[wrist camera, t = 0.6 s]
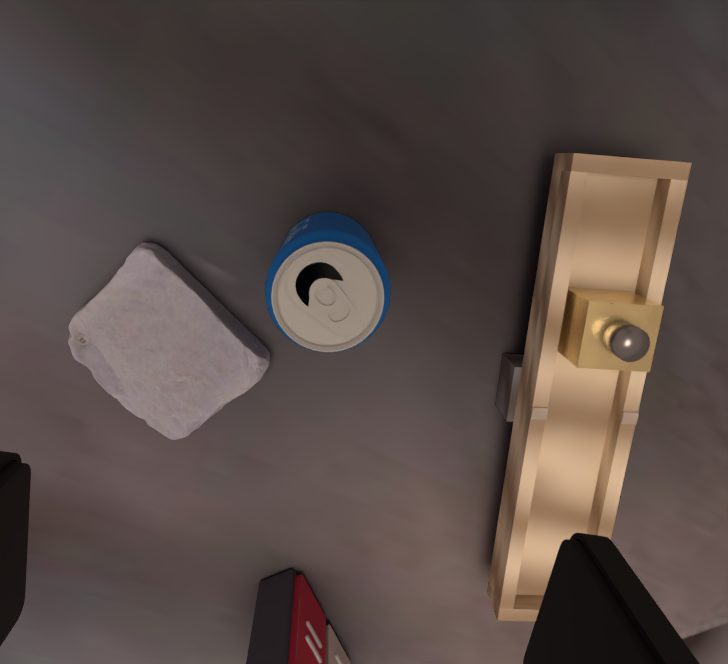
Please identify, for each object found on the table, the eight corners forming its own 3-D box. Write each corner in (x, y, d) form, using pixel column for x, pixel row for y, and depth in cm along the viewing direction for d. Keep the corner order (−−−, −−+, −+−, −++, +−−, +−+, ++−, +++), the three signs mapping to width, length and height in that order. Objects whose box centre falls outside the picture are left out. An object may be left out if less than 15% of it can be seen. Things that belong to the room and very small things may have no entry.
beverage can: (338, 191, 41) (341, 205, 29) (394, 268, 42) (418, 311, 31) (261, 249, 42) (234, 285, 30) (319, 323, 43) (315, 384, 32)
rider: (563, 286, 39) (600, 307, 33) (630, 291, 39) (678, 312, 34) (553, 347, 40) (587, 376, 34) (619, 351, 40) (662, 380, 35)
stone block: (198, 426, 47) (286, 348, 44) (172, 463, 43) (268, 379, 39) (76, 317, 45) (160, 225, 41) (36, 343, 40) (126, 243, 37)
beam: (531, 152, 41) (566, 152, 35) (648, 162, 41) (701, 163, 35) (471, 566, 49) (490, 621, 44) (568, 569, 50) (600, 624, 44)
